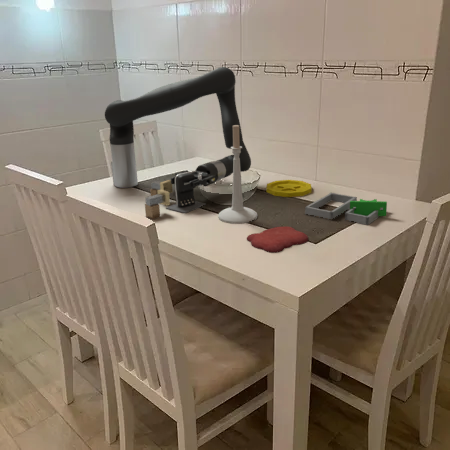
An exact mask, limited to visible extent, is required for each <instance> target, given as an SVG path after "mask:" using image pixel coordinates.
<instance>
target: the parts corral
mask: <svg viewBox="0 0 450 450" xmlns="http://www.w3.org/2000/svg"><path fill="white" fill-rule="evenodd" d="M332 201H333V202H334V201H335V202H339V203H342V204H341V205H339V206H338V207H336V208H334V209H333V210H326V209H320V208H322V207H323V206H324V205H326V204H328V203H330V202H332ZM350 201H358V197H356V196H352V195H346V194H341V193H335V192H329V193H328V194H326V195H324V196H323V197H320V198H319V199H316V200H315V201H314V202H312V203H310V204H308V205H306V206H305V207H304V215H306V214H308V215H307V216H310V215H314V216H313V217H315V216H319V217H318V218H320V217H323V218H322V219H325V218H328V219H327V220H329V219H333V218H334V219H336V218H337V217H339V216H340V215H342V214H343V213H344V221H346V220H349V221H348V222H351V221H354V222H353V223H355V222H357V223H356V224H361V225H366V226H369V225H370V224H371V223H372V222H373V223H374V221H375V220H377V219H378V218H379V217H380V216H378V210H375V211H374V212H372V213H371V214H369V215H368V216H364V215H359V214H354V210H355V209H356V207H353V209H350ZM319 207H320V208H319ZM346 210H347V211H346ZM380 210H383V208H380ZM344 211H345V212H344ZM341 213H342V214H341ZM338 215H339V216H338ZM336 216H337V217H336ZM335 217H336V218H335ZM334 219H333V220H334Z"/></svg>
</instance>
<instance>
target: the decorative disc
mask: <svg viewBox="0 0 450 450" xmlns="http://www.w3.org/2000/svg"><path fill="white" fill-rule="evenodd" d="M265 189H266V191H265V192H266V193H268V194H270V195H272V196H274V197H284V198H295V197H296V198H297V197H305V196H306V195H310V194H311V193H312V190H313V189H312V184H311V183H309V182H307V181H303V180H298V179H281V180H274V181H271V182H267V183H266V188H265Z"/></svg>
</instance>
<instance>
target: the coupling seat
mask: <svg viewBox="0 0 450 450" xmlns="http://www.w3.org/2000/svg"><path fill="white" fill-rule="evenodd" d="M203 205H204V206H206V205H207V203H205V202H201V201H196V200H195V204H194V205H190V206H187V207H178V206H177V205H176V203H173V204H170V205H167V206H166V207H165V209H166V210H169V211H174V212H178V213H181V214H187V213H190V212H192V211H194V210H197V209H199V208H201V206H202V207H204V206H203Z"/></svg>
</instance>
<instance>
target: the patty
mask: <svg viewBox="0 0 450 450" xmlns="http://www.w3.org/2000/svg"><path fill="white" fill-rule="evenodd" d="M246 241H247V242H249V243H250V246H251V247H253V248H255V249H257V250H262V251H264V252H265V253H266V252H267V253H271V254H278V253H282V252H283V251H284V250H285V249H290V248H292V246H298V245H300V246H301V245H303V244H305V243H307V242H309V236H308V235H307V234H306V233H305V232H303V231H299V230H296V229H295V228H294V227H292V226H275V227H272V228H267V229H265V230H263V231H261V232H258V233H251V234H249V235H247V237H246Z"/></svg>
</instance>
